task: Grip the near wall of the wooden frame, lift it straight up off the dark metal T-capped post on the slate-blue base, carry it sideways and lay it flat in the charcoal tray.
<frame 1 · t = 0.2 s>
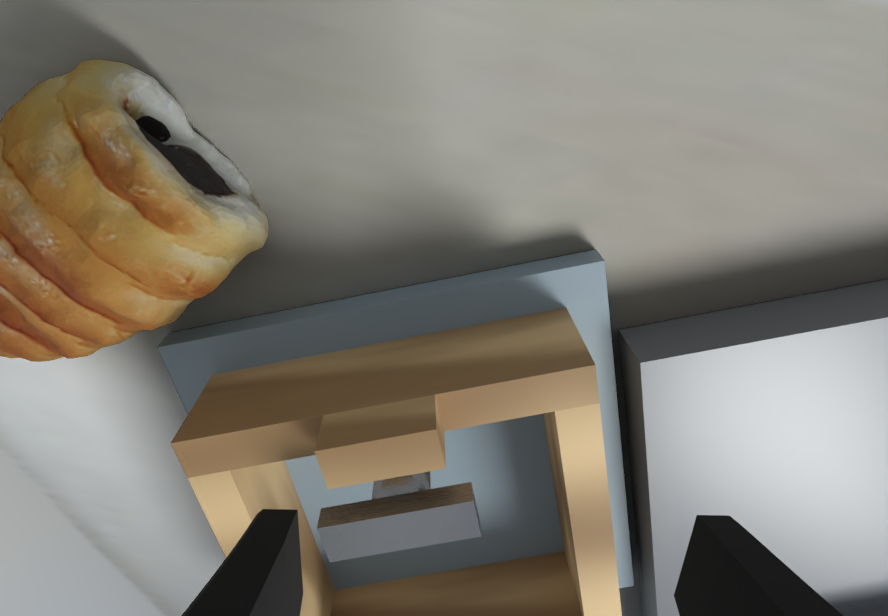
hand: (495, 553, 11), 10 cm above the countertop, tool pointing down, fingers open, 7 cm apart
wooden frame: (424, 481, 21), point 1 cm above the countertop, touching stake base
stake post: (406, 395, 21), resting on stake base
stake base: (424, 462, 22), on the countertop
pastry: (129, 214, 19), on the countertop
tray: (842, 473, 23), on the countertop
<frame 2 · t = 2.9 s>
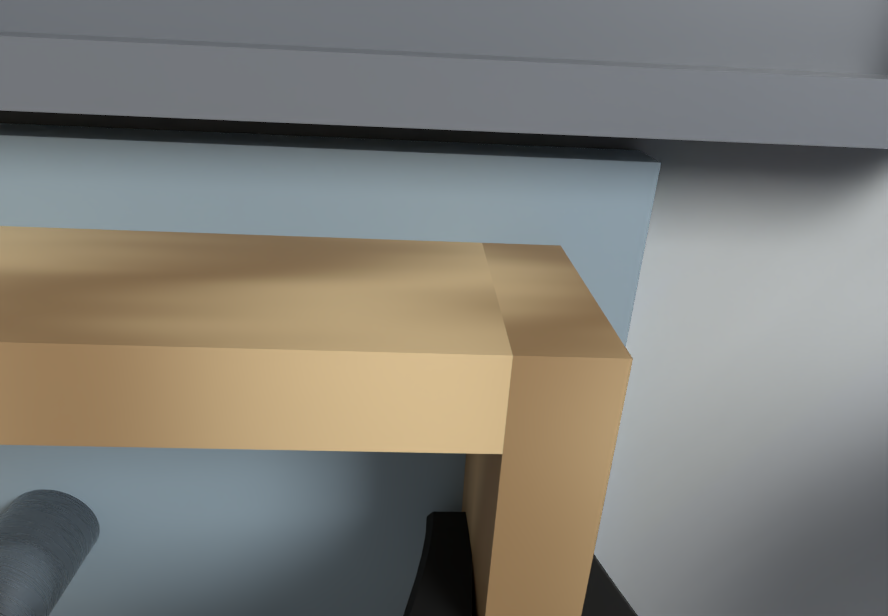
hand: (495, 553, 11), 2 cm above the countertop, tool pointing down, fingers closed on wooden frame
wooden frame: (219, 525, 11), point 1 cm above the countertop, touching gripper, stake base
stake post: (82, 486, 12), resting on stake base
stake base: (235, 488, 12), on the countertop
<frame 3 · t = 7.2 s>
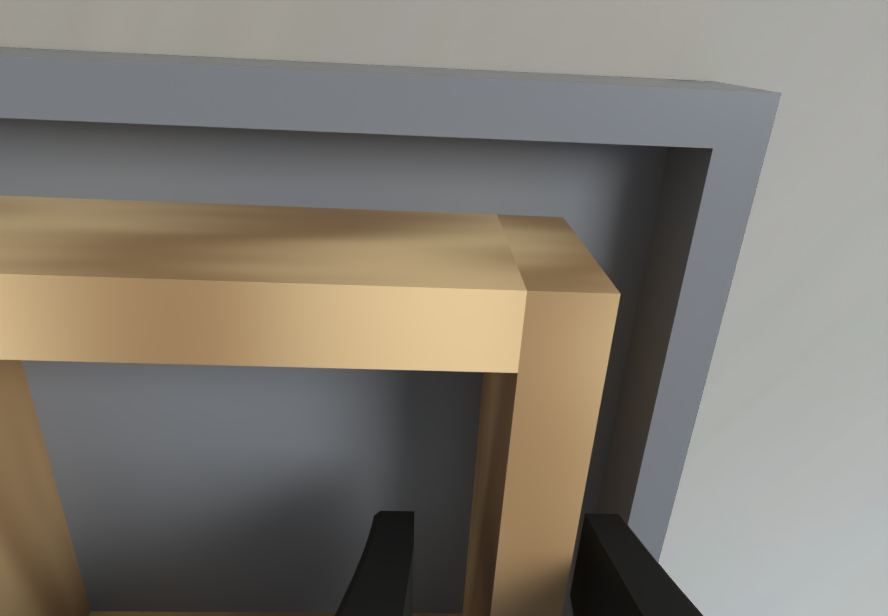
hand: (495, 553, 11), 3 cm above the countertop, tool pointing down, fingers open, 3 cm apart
wooden frame: (265, 465, 13), point 1 cm above the countertop, touching tray
tray: (280, 446, 14), on the countertop
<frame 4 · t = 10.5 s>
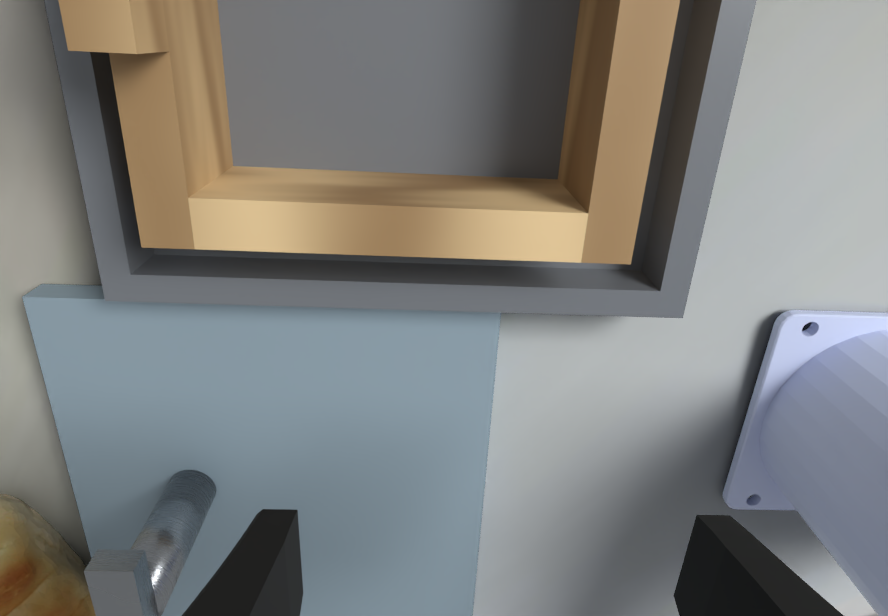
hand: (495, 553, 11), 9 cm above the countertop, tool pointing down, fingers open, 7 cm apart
stake post: (202, 469, 22), resting on stake base
stake base: (287, 470, 22), on the countertop
pastry: (28, 567, 24), on the countertop
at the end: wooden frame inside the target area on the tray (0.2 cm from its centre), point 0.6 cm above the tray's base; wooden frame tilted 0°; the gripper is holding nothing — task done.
